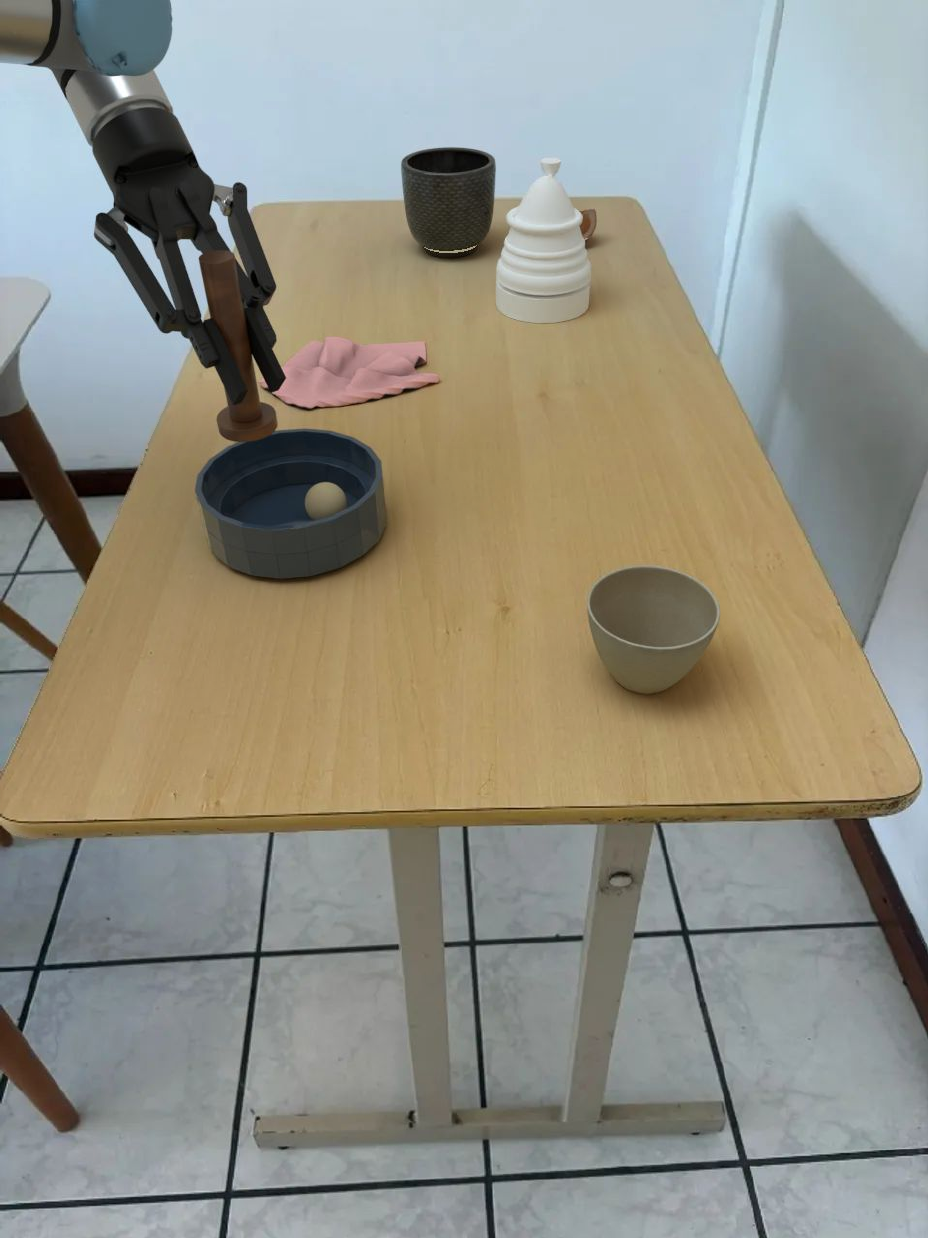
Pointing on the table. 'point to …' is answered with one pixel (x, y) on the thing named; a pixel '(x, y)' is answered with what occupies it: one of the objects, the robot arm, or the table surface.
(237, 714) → the table surface
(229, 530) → the bowl
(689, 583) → the flower pot
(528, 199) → the honey pot
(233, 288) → the wooden peg stand
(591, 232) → the fruit slice
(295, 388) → the cloth
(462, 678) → the table surface
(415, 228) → the planter
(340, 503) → the dough ball
